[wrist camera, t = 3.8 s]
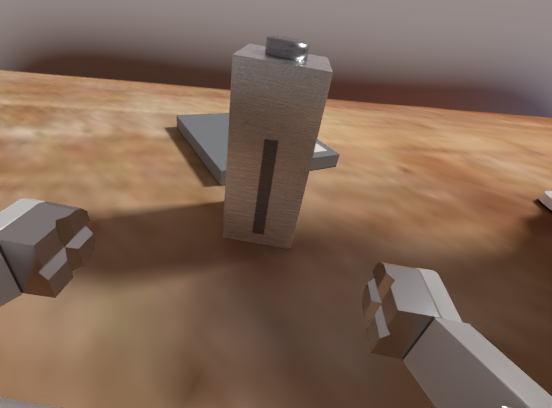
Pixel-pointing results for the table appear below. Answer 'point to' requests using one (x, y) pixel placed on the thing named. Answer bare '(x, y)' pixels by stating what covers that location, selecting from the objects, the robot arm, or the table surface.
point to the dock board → (214, 142)
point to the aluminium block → (272, 138)
